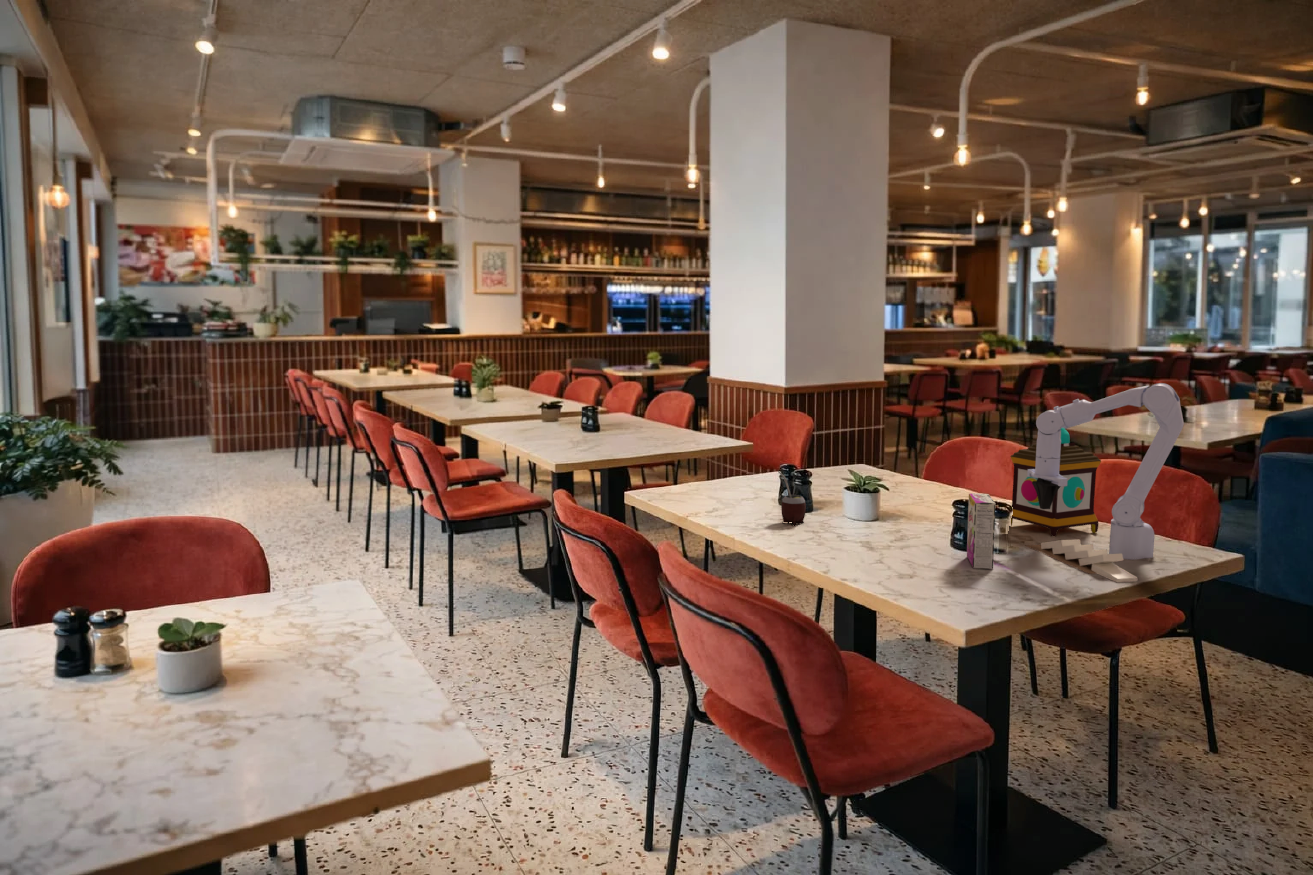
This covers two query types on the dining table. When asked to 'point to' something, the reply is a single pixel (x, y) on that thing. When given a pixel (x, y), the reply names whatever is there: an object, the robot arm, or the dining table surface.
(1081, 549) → the domino
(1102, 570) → the domino
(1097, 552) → the domino
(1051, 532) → the decorative lantern
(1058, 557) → the walnut board
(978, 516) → the candy bar box
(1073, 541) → the domino
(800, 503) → the mate gourd
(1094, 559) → the domino
